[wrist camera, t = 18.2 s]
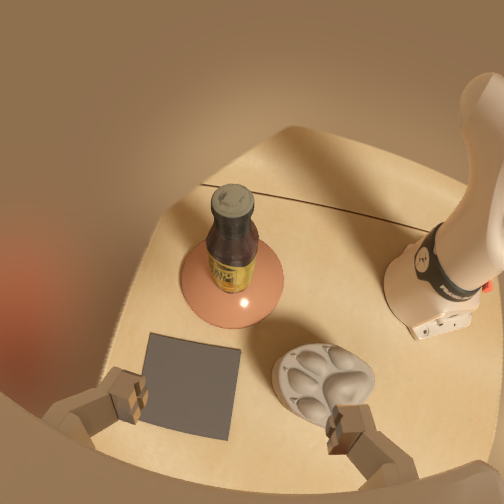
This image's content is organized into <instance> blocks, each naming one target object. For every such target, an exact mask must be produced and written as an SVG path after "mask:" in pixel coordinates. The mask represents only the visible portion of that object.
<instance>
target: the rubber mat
mask: <svg viewBox="0 0 504 504" xmlns="http://www.w3.org/2000/svg"><path fill="white" fill-rule="evenodd" d="M240 355H241V350H234V349H228V348H221V347H215V346H210V345H204V344H198V343H193V342H188V341H183V340H178V339H173V338H168V337H164V336H159V335H155V334H150V339H149V343H148V348H147V353H146V358H145V363H144V368H143V373H142V376H144V377H145V378H146V384H145V387H146V388H147V389H148V399H147V403H146V405H145V407H144V408H143V409H141V410H140V413H141V415H140V417H139V419H138V420H140V421H143V422H146V423H150V424H153V425H156V426H160V427H164V428H168V429H172V430H176V431H180V432H184V433H188V434H193V435H198V436H203V437H208V438H214V439H220V440H226V441H228V435H229V429H230V422H231V416H232V409H233V402H234V396H235V389H236V382H237V376H238V369H239V362H240Z"/></svg>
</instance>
